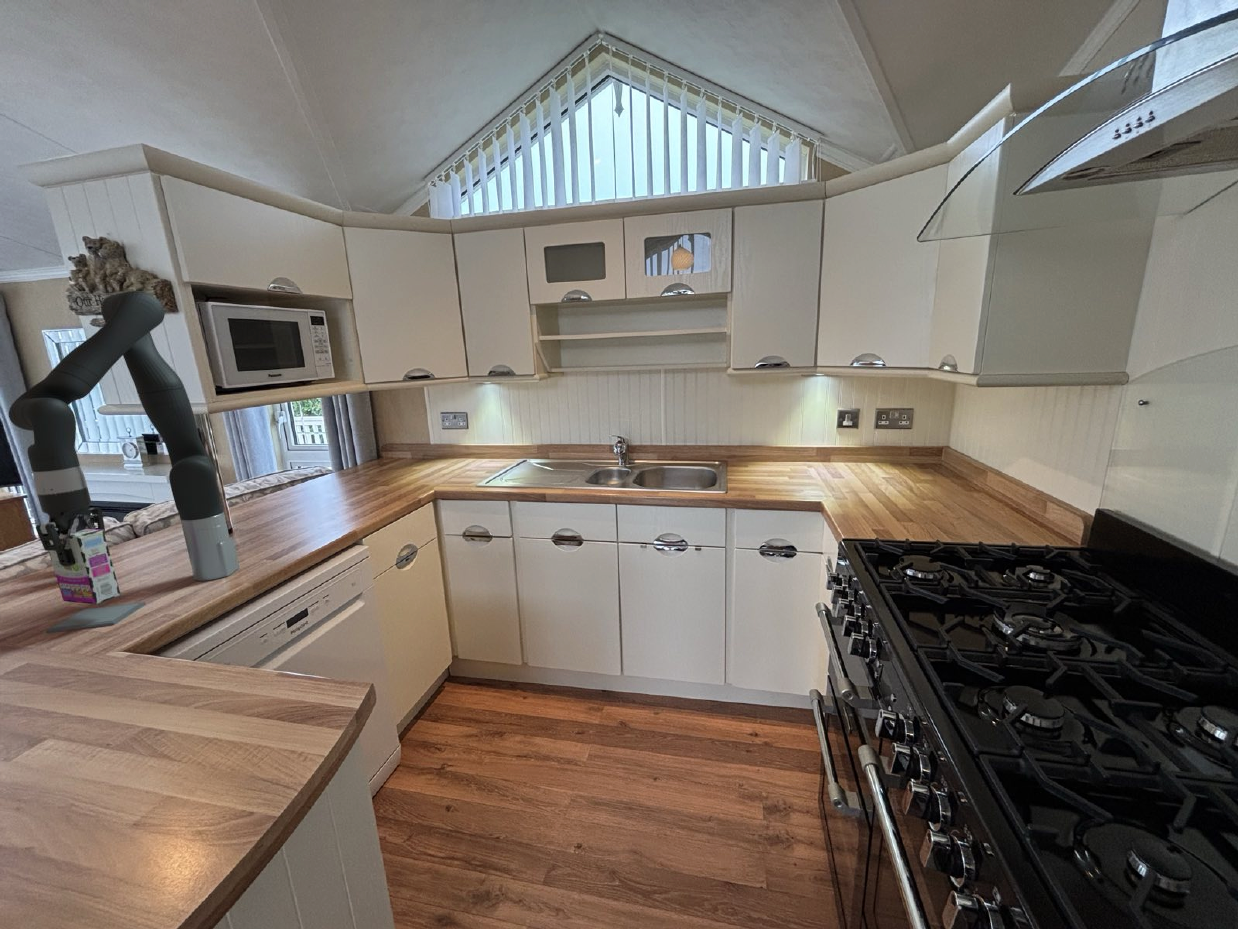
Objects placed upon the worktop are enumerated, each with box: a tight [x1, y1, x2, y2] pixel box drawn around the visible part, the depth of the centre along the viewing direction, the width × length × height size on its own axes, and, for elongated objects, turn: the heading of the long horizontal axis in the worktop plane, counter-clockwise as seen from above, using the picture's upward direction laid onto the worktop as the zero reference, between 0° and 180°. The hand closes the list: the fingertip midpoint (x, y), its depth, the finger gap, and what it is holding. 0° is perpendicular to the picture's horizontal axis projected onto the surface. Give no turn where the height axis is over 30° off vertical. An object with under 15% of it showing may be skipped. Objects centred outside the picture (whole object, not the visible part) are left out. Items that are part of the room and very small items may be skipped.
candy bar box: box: [48, 529, 122, 605], centre depth 113 cm, size 11×5×16 cm, turn 76°
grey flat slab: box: [44, 601, 147, 633], centre depth 116 cm, size 13×10×1 cm
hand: (82, 559), depth 113 cm, fingers closed on candy bar box, 6 cm apart
